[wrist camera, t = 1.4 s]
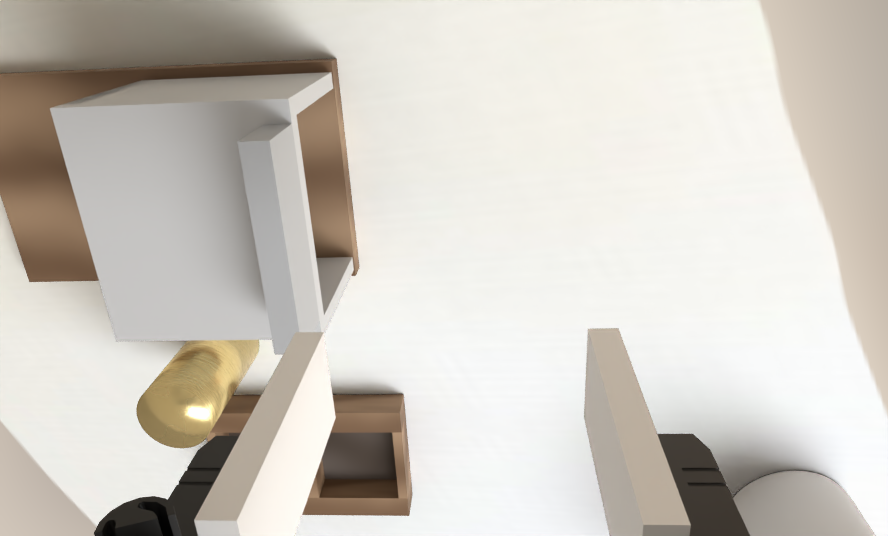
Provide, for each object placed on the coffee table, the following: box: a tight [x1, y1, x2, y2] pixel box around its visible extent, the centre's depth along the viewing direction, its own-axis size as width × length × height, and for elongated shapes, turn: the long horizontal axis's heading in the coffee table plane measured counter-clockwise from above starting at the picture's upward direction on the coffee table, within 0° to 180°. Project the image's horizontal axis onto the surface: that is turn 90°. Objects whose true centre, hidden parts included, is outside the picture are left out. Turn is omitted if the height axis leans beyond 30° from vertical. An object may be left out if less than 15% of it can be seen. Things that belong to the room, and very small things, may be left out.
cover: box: [50, 72, 354, 354], centre depth 31 cm, size 11×10×11 cm
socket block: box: [207, 394, 412, 516], centre depth 44 cm, size 8×13×2 cm, turn 93°
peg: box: [137, 340, 259, 448], centre depth 39 cm, size 4×4×8 cm
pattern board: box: [0, 59, 359, 282], centre depth 36 cm, size 12×20×5 cm, turn 93°
